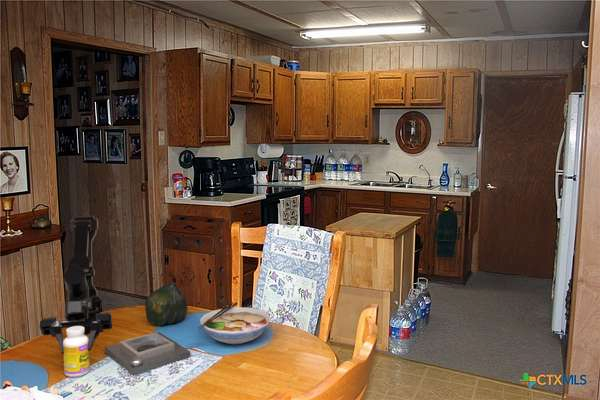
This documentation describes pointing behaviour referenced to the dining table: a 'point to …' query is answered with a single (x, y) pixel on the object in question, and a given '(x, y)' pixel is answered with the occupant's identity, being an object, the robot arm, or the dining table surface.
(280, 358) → the dining table surface
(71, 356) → the supplement bottle
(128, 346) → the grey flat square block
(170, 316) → the squash
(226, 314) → the ramen bowl
